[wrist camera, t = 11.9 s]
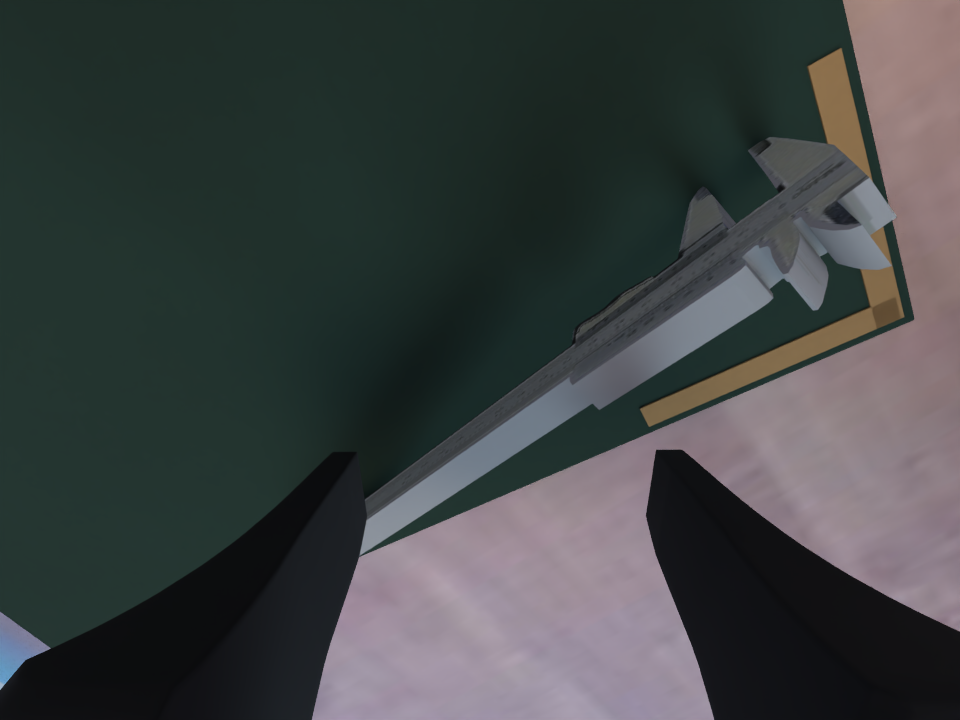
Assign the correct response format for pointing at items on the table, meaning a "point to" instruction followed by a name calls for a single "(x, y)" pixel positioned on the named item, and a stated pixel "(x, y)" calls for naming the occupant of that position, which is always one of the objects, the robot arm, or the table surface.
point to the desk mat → (362, 248)
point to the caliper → (665, 315)
